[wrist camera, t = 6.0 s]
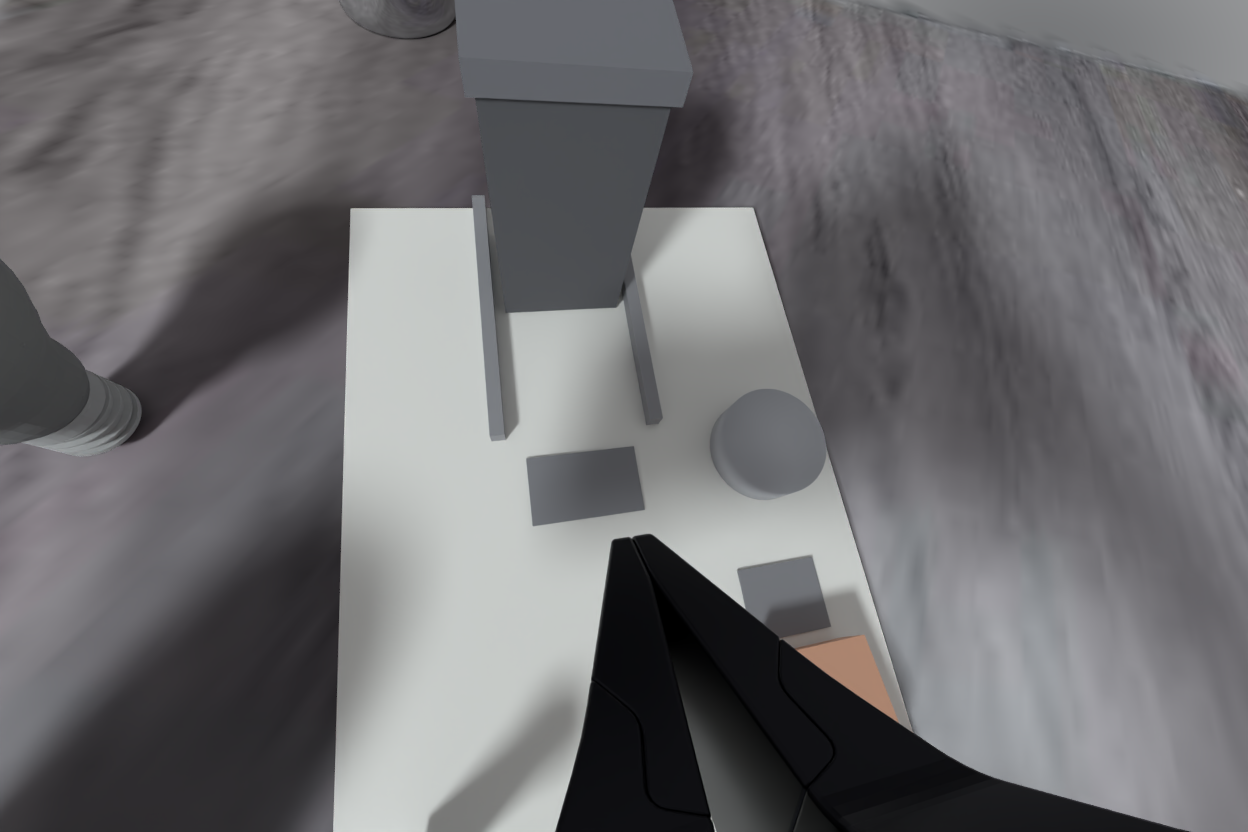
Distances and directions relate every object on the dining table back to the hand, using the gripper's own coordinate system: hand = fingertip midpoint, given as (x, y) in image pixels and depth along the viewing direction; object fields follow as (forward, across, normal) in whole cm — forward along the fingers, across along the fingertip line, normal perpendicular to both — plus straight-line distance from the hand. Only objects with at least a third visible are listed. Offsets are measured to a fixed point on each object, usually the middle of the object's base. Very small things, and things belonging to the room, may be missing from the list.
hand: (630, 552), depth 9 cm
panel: (+6, -1, +5) cm, 8 cm away
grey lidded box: (+13, 0, -4) cm, 14 cm away
